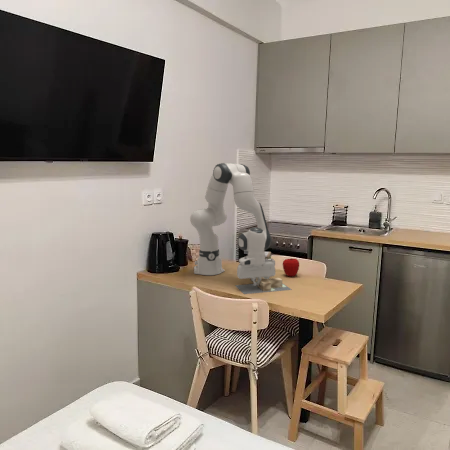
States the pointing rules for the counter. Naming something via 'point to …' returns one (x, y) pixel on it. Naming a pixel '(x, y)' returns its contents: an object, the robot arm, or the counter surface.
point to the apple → (291, 267)
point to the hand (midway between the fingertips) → (256, 285)
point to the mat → (258, 289)
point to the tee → (269, 283)
